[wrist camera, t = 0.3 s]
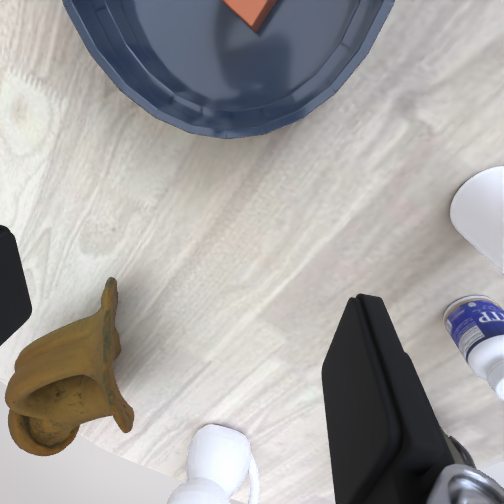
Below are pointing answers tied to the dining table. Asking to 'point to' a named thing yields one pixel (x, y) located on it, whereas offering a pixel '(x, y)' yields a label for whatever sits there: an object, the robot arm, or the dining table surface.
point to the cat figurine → (217, 468)
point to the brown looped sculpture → (67, 382)
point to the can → (482, 214)
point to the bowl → (228, 58)
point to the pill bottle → (479, 337)
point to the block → (251, 11)
